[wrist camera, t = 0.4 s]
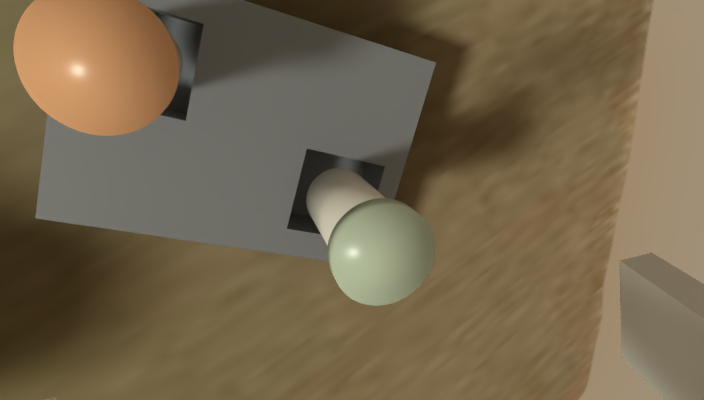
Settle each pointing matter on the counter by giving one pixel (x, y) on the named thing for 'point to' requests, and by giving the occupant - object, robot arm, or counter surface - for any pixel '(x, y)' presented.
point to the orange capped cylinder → (97, 63)
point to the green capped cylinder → (370, 238)
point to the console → (243, 133)
